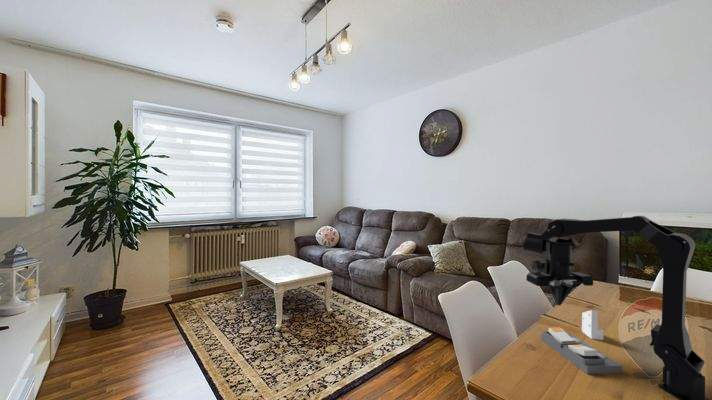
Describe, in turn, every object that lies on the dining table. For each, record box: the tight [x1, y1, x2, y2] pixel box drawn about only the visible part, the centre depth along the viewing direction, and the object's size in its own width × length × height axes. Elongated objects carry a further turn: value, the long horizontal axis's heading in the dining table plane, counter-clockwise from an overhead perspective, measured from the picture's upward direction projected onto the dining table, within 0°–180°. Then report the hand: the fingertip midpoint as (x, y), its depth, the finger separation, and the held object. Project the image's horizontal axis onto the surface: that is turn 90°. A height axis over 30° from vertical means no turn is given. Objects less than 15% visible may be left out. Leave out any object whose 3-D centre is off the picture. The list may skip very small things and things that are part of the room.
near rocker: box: [568, 345, 598, 356], centre depth 86 cm, size 6×4×2 cm, turn 2°
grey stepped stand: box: [540, 330, 623, 375], centre depth 90 cm, size 19×10×3 cm, turn 2°
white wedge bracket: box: [581, 309, 605, 341], centre depth 102 cm, size 4×10×9 cm, turn 168°
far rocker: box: [547, 327, 574, 343], centre depth 94 cm, size 6×4×2 cm, turn 2°
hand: (558, 304), depth 95 cm, fingers closed
